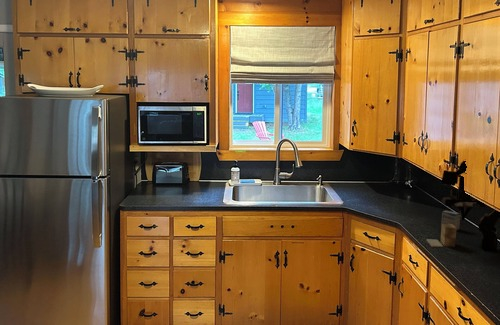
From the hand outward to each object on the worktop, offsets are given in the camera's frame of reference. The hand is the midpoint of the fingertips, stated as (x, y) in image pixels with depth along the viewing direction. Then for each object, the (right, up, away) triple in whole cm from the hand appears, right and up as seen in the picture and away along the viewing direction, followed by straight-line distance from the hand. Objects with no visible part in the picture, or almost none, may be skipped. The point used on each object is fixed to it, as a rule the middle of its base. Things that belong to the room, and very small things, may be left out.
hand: (462, 219), depth 261 cm
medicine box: (+4, -8, +28) cm, 30 cm away
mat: (-12, -11, +3) cm, 17 cm away
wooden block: (-6, -12, +2) cm, 13 cm away
